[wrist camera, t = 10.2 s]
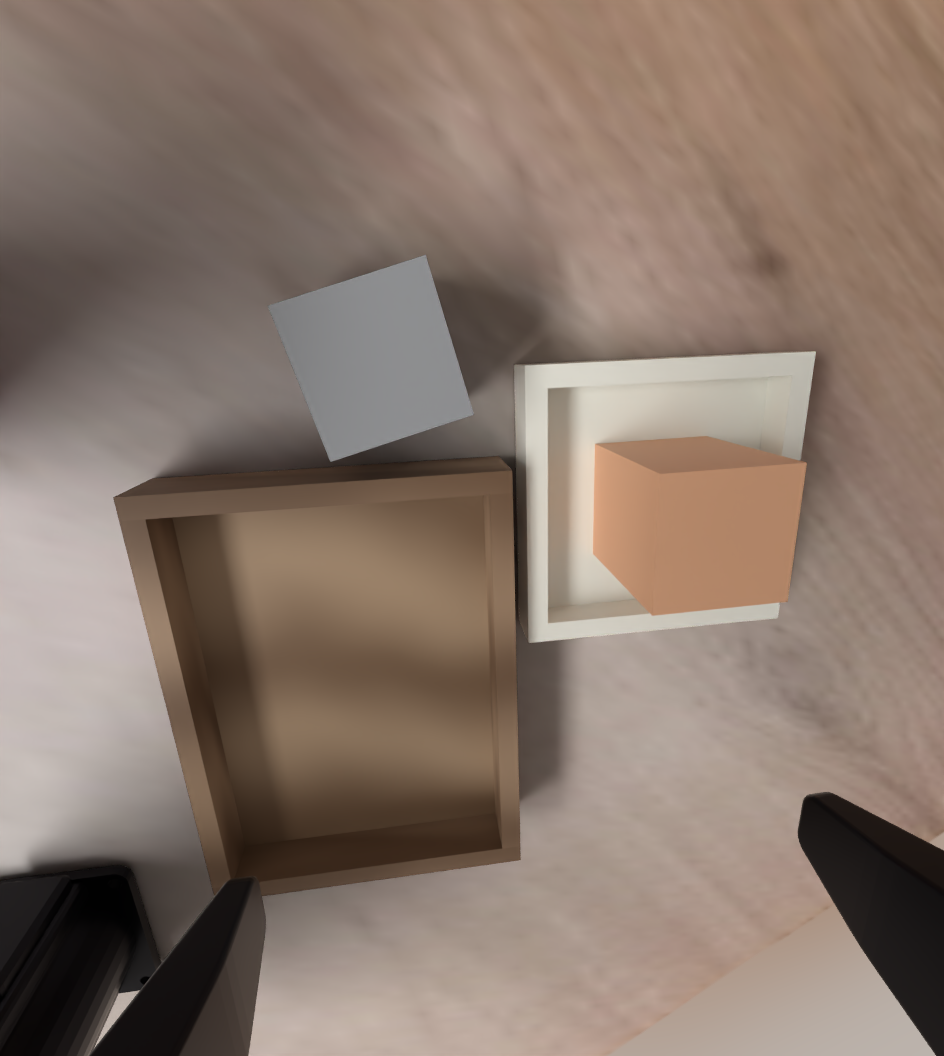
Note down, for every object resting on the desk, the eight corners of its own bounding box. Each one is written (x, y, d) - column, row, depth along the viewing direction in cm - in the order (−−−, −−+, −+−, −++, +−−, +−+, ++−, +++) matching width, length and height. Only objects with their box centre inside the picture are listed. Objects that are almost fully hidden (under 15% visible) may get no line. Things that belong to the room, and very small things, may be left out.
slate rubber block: (459, 402, 18) (474, 414, 14) (345, 439, 18) (330, 462, 14) (420, 277, 17) (425, 255, 13) (298, 317, 17) (267, 305, 13)
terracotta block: (706, 435, 19) (806, 462, 14) (697, 544, 20) (787, 602, 15) (594, 443, 19) (660, 474, 14) (592, 553, 20) (652, 615, 15)
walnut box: (509, 809, 24) (520, 860, 21) (236, 844, 22) (215, 902, 20) (498, 455, 19) (512, 470, 16) (152, 478, 18) (113, 497, 15)
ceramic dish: (750, 598, 22) (778, 618, 20) (519, 620, 21) (528, 642, 19) (780, 351, 19) (815, 351, 17) (514, 364, 18) (524, 365, 16)
